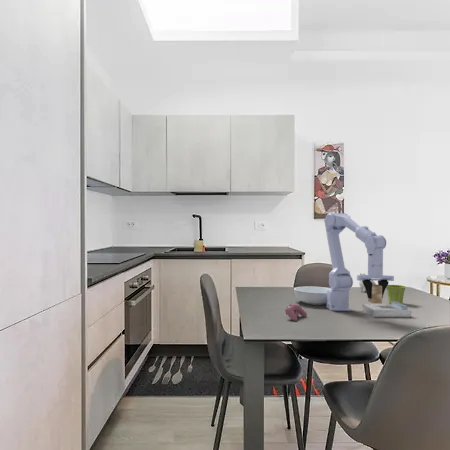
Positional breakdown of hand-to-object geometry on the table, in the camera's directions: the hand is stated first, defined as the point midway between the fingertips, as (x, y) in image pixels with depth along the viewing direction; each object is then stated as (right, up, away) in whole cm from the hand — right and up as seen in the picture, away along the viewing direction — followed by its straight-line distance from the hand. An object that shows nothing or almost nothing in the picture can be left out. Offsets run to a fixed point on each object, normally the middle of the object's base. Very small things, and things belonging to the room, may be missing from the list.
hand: (375, 298), depth 158 cm
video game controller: (-32, -9, +1) cm, 34 cm away
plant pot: (+23, -9, +33) cm, 42 cm away
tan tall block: (0, -2, 0) cm, 2 cm away
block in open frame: (+9, -9, +10) cm, 16 cm away
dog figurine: (+20, -9, +66) cm, 70 cm away
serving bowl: (-17, -9, +33) cm, 38 cm away
